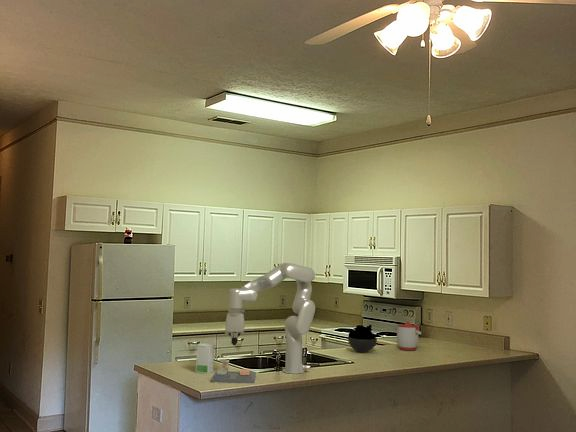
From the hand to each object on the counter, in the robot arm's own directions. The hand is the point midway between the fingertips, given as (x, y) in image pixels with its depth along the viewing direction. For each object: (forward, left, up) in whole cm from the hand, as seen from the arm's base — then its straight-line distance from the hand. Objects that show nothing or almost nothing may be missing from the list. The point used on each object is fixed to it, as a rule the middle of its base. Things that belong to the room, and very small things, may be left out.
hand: (234, 345), depth 333 cm
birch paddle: (+5, -1, -15) cm, 16 cm away
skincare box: (+17, -11, -18) cm, 27 cm away
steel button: (+5, +10, -13) cm, 18 cm away
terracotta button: (-7, +10, -13) cm, 18 cm away
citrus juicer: (-116, -102, -18) cm, 156 cm away
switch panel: (-1, +5, -17) cm, 18 cm away
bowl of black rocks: (-81, -87, -18) cm, 120 cm away
